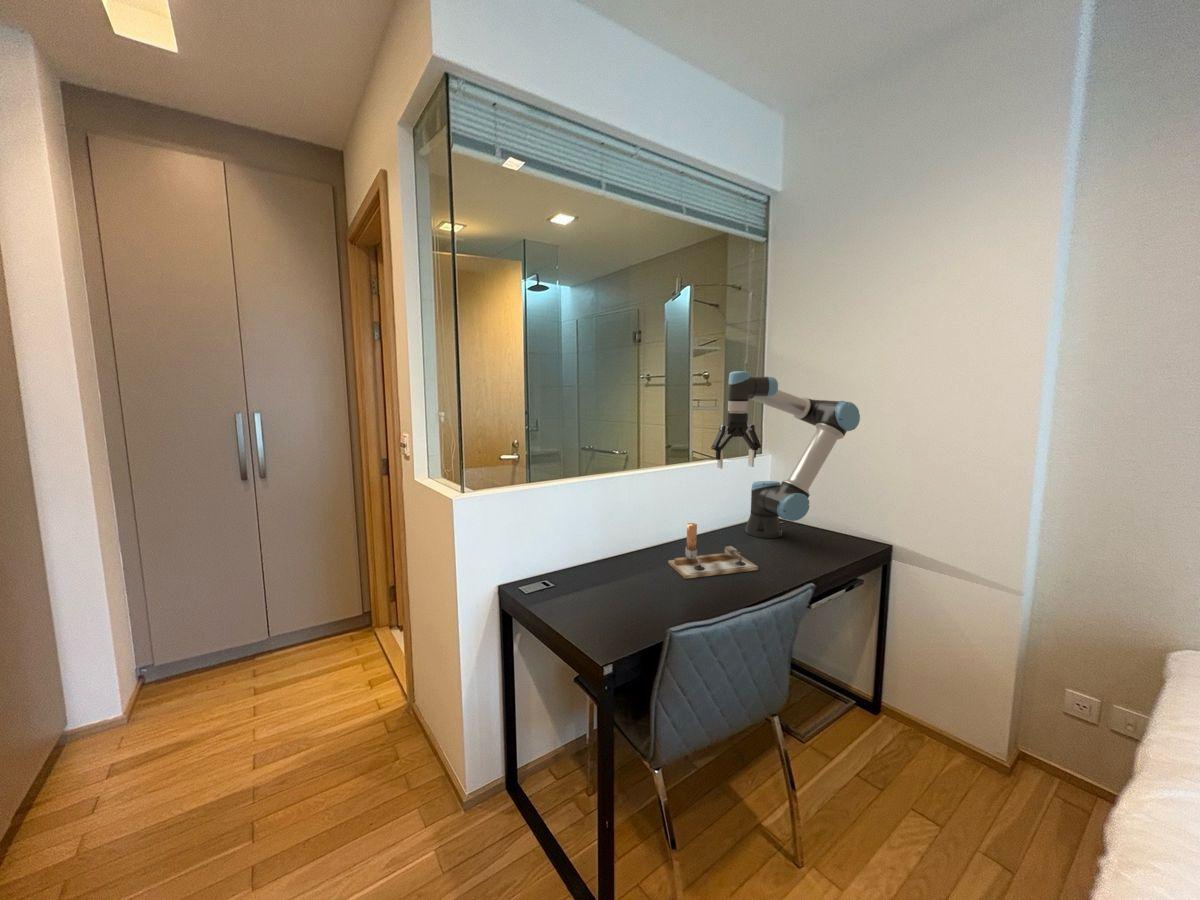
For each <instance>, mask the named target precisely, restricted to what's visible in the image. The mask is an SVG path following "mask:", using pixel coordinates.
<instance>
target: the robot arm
mask: <svg viewBox="0 0 1200 900" xmlns="http://www.w3.org/2000/svg"><path fill="white" fill-rule="evenodd" d="M727 384H728V387H727V388H728V393H727V394H728V396H727V411H728V413H727V417H726V418H727V421H726V422H727V425H723V424H721V425H719V429H718V432H717V435H716V437H715V439H714V441H713V443H712V445H711V447H710V449H711V450H714V451H715V460H716V461H717V463H716V468H717V469H721V470H722V469H723V462H724V451H722V450H723V449H724V448H725V447H726V445H727V444H728V443H729V441H730V440H731V439H733V437H734V438H737V437H739V438H741V437H742V438H743V440H744V442H745V443H746V444H747V445H748V447H749V449H748V458H747V459H748V460H747V462H748V463H747V466H748V467H752V468H754V467H755V458H757V451H758V450H759V449H761V448H762V445H761V442H760V440H759V438H758V435H757V433H756V428H755V425H754V424H748V422H749V420H748V419H749V413H748V412H749V400H751V401H754V402H758V403H760V404H763V405H766V406H769V407H772V408H774V409H777V410H780V411H782V412H785V413H788V414H790V415H793V417H794V418H795V419H796V420H797V419H798V420H800V421H803V422H805V423H807V424H810V425H812V426H815V428H816V431H815V432H814V435H813V436H812V438H811V440H809V441H810V442H809V443H808V445H807V447H806V449H805V450H804V452H803V453H802V455H801V456H800V459H799V460H798V462H797V464H796V465H795V467H794V469H793V470H792V471H791V472H792V473H790V475H789V477H788V479H785V480H782V481H781V482H780V481H777V480H760V481H754V482H753V483H752V485H751V495H750V498H751V499H750V515H749V516H748V517H749V518H748V521H747V523H746V526H745V533H747V534H748V535H749V536H752V537H756V538H762V539H777V538H780V537H782V536H783V528H782V523H781V521H780V518H781V519H783V520H785V521H789V522H791V521H792V522H796V521H799V520H801V519H802V518H804V517H805V516H806V515H807V514H808V512H809V510H810V500H809V498H810V496H811V494H810V491H809V489H810V487H811V486H812V484H813V482H814V481H815V479H816V478H817V476H818V474H819V471H821V468H822V467H823V465H824V464H825V462H826V460H827V458H828V456H829V455H830V453H831V452H832V450H833V448H834V447H835V445H836V443H837V441H838V440H842V439H844V437H845V435H846V434H847V432H852V431H854V430H855V429H856V428H857V427H858V426H859V423H860V421H861V414H860V410H859V408H858V407H857V405H856V404H855V403H853V402H851V401H845V400H826V399H822V400H821V399H812V398H808V397H798V396H796V395H794V394H790V393H787V392H785V391H783V390H780V389H778V388H779V382H778V380H777V379H776V377H774V376H773V377H772V376H751V373H750V372H749V371H743V370H742V371H738V370H737V371H731V372H730V373H729V375H728V383H727ZM747 430H748V433H749V434H748V433H747ZM726 431H727V432H726ZM725 432H726V433H725ZM724 435H725V436H724ZM749 435H750V436H749Z"/></svg>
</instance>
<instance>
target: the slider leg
mask: <svg viewBox="0 0 1200 900" xmlns="http://www.w3.org/2000/svg"><path fill="white" fill-rule="evenodd" d="M697 527H698V524H697V523H695V522H693V523H692V522H689V523H687V524H686V546H685V549H684V550H685V557H688V558H689V559H695V560H696V561H697V562H698V567H699V568H700V567H701V560H699V559H698V558H697V556H698V549H697V537H698V536H697V535H698V528H697Z"/></svg>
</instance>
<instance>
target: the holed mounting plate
mask: <svg viewBox="0 0 1200 900" xmlns="http://www.w3.org/2000/svg"><path fill="white" fill-rule="evenodd" d="M697 558H698V559H699V560H701V567H700V568H699V567H698V562H697V561H696V560H695V559H689V558H688V557H687V556H684V557H675V558H674V559H669V560H667V562H668V565H669V566H671V567H672V568H673V569H674V570H675V571H676V572H677V573H678V574H679V575H680V576H681V577H683V579H685V580H687V579H695V578H696V579H697V578H702V577H710V576H711V577H712V576H720V575H728V574H738V573H745V572H752V571H759V566H758V565H756V564H755V563H753V562H752V561H750V560H748V559H746V557H744V556H742V552H741V551H738V549H737V548H736V547H734V546H732V545H728V546H724V552H722V553H721V552H720V553H712V554H701V555H697Z"/></svg>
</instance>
